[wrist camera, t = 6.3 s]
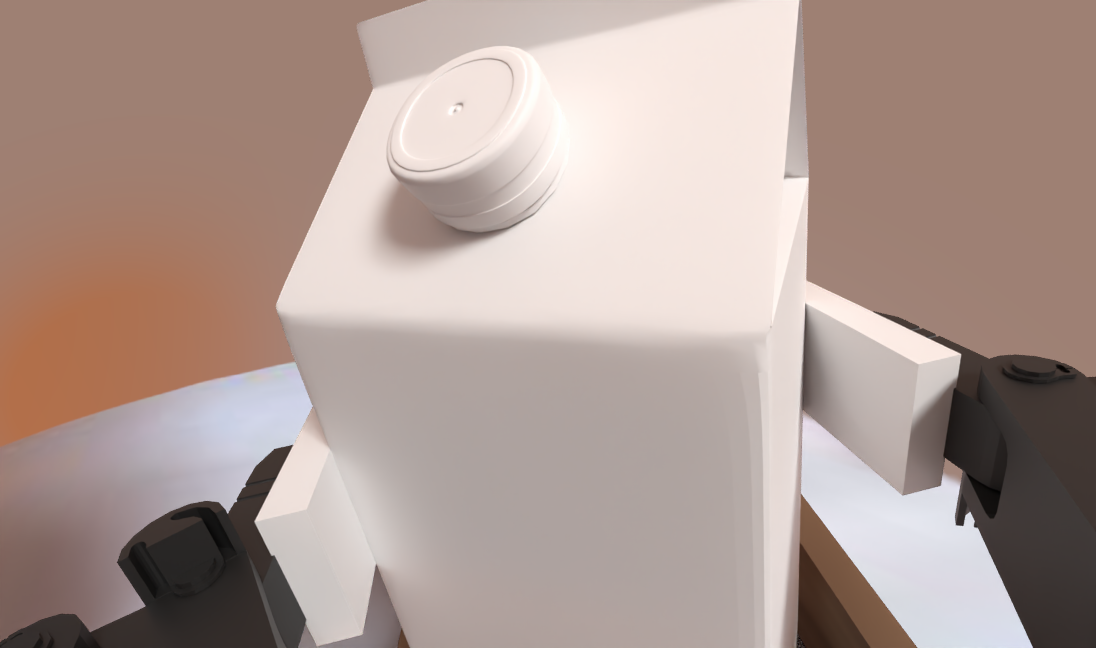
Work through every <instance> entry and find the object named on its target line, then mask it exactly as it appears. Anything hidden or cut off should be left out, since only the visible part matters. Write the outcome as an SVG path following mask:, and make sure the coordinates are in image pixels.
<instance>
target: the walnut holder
mask: <svg viewBox="0 0 1096 648" xmlns="http://www.w3.org/2000/svg"><path fill="white" fill-rule="evenodd" d="M797 633H798V635H799V636H800V638H801V640H802V642H803V644H804V646H805V647H806V648H917V647H916V645H915V644H914V643H913V641H912V640H911V639H910V637H909V636H908V635H907V633H906V632H905V631H904V629H903V628H902V627H901V625H900V624H899V623H898V621H897V620H896V619H895V617H894V616H893V615H892V613H891V612H890V611H889V610H888V608H887V607H886V606H885V604H884V603H883V602H882V600H881V599H880V598H879V596H878V595H877V594H876V592H875V591H874V590H873V588H872V587H871V586H870V584H869V583H868V582H867V580H866V579H865V578H864V576H863V575H862V574H861V572H860V571H859V570H858V568H857V567H856V566H855V564H854V563H853V562H852V561H851V559H850V558H849V557H848V555H847V554H846V553H845V551H844V550H843V549H842V547H841V546H840V545H839V543H838V542H837V541H836V539H835V538H834V537H833V535H832V534H831V533H830V531H829V530H828V529H827V527H826V526H825V525H824V523H823V522H822V521H821V519H820V518H819V517H818V515H817V514H816V513H815V512H814V510H813V509H812V508H811V506H810V505H809V504H808V502H807V501H806V500H805V498H804V497H803V496H802V494H801V506H800V547H799V588H798V630H797ZM397 648H410V647H409V644H408V642H407V639H406V637H405V634H404V632H403V630H402V628H401V633H400V638H399V642H398V647H397Z"/></svg>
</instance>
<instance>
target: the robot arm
mask: <svg viewBox="0 0 1096 648" xmlns="http://www.w3.org/2000/svg"><path fill="white" fill-rule="evenodd" d="M803 410H804V411H805V412H806V413H807V414H808V415H810V416H811V417H812V418H813V419H814V420H815V421H817V422H818V423H819V424H820V425H821V426H822V427H823V428H825V429H826V430H827V431H828V432H829V433H830V434H832V435H833V436H834V437H835V438H836V439H837V440H839V441H840V442H841V443H842V444H843V445H844V446H846V447H847V448H848V449H849V450H850V451H851V452H853V453H854V454H855V455H856V456H857V457H858V458H860V459H861V460H862V461H863V462H864V463H865V464H867V465H868V466H869V467H870V468H871V469H872V470H874V471H875V472H876V473H877V474H878V475H879V476H881V477H882V478H883V479H884V480H885V481H886V482H888V483H889V484H890V485H891V486H892V487H893V488H895V489H896V490H897V491H898V492H899V493H900V494H901V495H907V494H910V493H914V492H918V491H922V490H926V489H930V488H934V487H938V486H941V481H942V474H943V467H944V462H945V458H946V459H948V460H949V461H951V462H952V463H953V464H955V465H956V466H957V467H959V468H960V469H962V470H963V473H962V479H961V485H960V491H959V496H958V502H957V508H956V513H955V521H956V525H959V526H963V525H964V520H965V515H966V514H968V513H969V512H971V514H972V516H973V518H974V520H975V522H974V527H976V528H978V529H979V531H980V533H981V536H982V538H983V540H984V542H985V544H986V546H987V549H988V551H989V553H990V555H991V557H992V559H993V562H994V564H995V566H996V568H997V570H998V573H999V575H1000V577H1001V579H1002V581H1003V583H1004V586H1005V588H1006V590H1007V592H1008V594H1009V596H1010V599H1011V601H1012V603H1013V605H1014V607H1015V609H1016V612H1017V614H1018V616H1019V618H1020V620H1021V623H1022V625H1023V627H1024V629H1025V631H1026V633H1027V636H1028V638H1029V640H1030V642H1031V644H1032V646H1033V648H1096V377H1086V376H1085V375H1084V374H1082V373H1081V372H1079V371H1078V370H1076V369H1075V368H1073V367H1071V366H1069V365H1067V364H1064V363H1061V362H1058V361H1055V360H1050V359H1045V358H1041V357H1036V356H1025V355H1004V356H997V357H994V358H990V359H988V358H986V357H984V356H982V355H980V354H978V353H975V352H973V351H971V350H969V349H966V348H964V347H962V346H960V345H958V344H956V343H953V342H951V341H949V340H947V339H945V338H943V337H940V336H938V337H936V335H935V334H934V333H932V332H930V331H927V330H925V329H920V328H919V326H917V325H915V324H912V323H910V322H908V321H906V320H903V319H901V318H899V317H895V316H891V315H887V314H882V313H878V312H872V311H869V310H867V309H865V308H863V307H861V306H859V305H857V304H855V303H853V302H850V301H848V300H846V299H844V298H842V297H840V296H838V295H836V294H834V293H832V292H829V291H827V290H825V289H823V288H821V287H819V286H817V285H815V284H813V283H811V282H809V281H806V299H805V341H804V382H803ZM245 485H246V487H244V488H243V489H242V491H241V492H240V494H239V496H238V498H237V502H235V503H234V504H233V506H232V508H231V510H230V511H229V513H228V514H227V512H226V510H225V509H224V508H223V507H222V506H221V504H220V503H219V502H211V501H203V502H198V503H193V504H189V505H186V506H183V507H181V508H178V509H176V510H173V511H171V512H169V513H167V514H165V515H164V516H162V517H160V518H158V519H156V520H155V521H153V522H151V523H150V524H149V525H147V526H146V527H145V528H143V529H142V530H141V531H140V532H138V533H137V534H136V535H135V536H133V538H132V539H131V540H130V541H129V542H128V543H127V545H126V546H125V547H124V548H123V549H122V551H121V553H120V556H119V559H118V561H117V563H118V565H119V566H120V568H121V569H122V571H123V572H124V574H125V575H126V577H127V578H128V580H129V581H130V583H131V584H132V586H133V587H134V589H135V590H136V592H137V593H138V595H139V596H140V598H141V599H142V601H143V602H144V604H145V605H146V607H144V608H142V609H140V610H138V611H136V612H133V613H131V614H129V615H127V616H125V617H123V618H120V619H118V620H116V621H114V622H112V623H109V624H107V625H105V626H103V627H101V628H99V629H96V630H94V631H92V632H89V631H88V629H87V628H86V626H85V625H84V624H83V622H82V621H81V620H80V619H79V618H78V617H77V616H76V615H75V614H59V615H56V616H52V617H49V618H45V619H42V620H40V621H38V622H36V623H34V624H32V625H30V626H27V627H25V628H23V629H20V630H18V631H17V632H15V633H13V634H12V635H10V636H8V637H9V638H7V639H4V640H2V641H1V642H0V648H298V646H299V643H300V639H301V636H302V633H303V630H304V626H305V624H306V626H307V628H308V630H309V632H310V634H311V635H312V637H313V639H314V641H315V643H316V645H317V646H321V645H325V644H329V643H333V642H337V641H341V640H344V639H348V638H352V637H356V636H360V635H363V630H364V625H365V620H366V614H367V609H368V604H369V598H370V593H371V588H372V582H373V577H374V572H375V566H376V562H375V560H374V557H373V555H372V552H371V550H370V547H369V545H368V542H367V540H366V537H365V535H364V532H363V530H362V527H361V525H360V522H359V520H358V517H357V515H356V512H355V510H354V507H353V505H352V502H351V500H350V497H349V495H348V492H347V490H346V487H345V485H344V482H343V480H342V477H341V475H340V472H339V470H338V467H337V465H336V462H335V460H334V457H333V455H332V452H331V450H330V448H329V445H328V443H327V440H326V438H325V435H324V433H323V430H322V428H321V425H320V423H319V420H318V418H317V415H316V413H315V410H314V408H313V407H312V409H311V411H310V413H309V415H308V417H307V419H306V421H305V423H304V425H303V427H302V429H301V431H300V433H299V435H298V437H297V439H296V441H295V443H294V445H290V446H286V447H281V448H277V449H274V450H273V451H272V452H271V453H270V454H269V455H268V456H266V457H265V458H264V459H263V460H262V461H261V462H260V463H259V464H258V465H257V466H256V467H255V468H254V470H253V472H252V474H251V475H250V477H249V479H248V480H247V482H246V484H245Z"/></svg>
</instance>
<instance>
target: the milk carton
mask: <svg viewBox="0 0 1096 648" xmlns="http://www.w3.org/2000/svg"><path fill="white" fill-rule="evenodd" d="M357 31H358V35H359V39H360V42H361V46H362V49H363V53H364V57H365V60H366V64H367V68H368V72H369V75H370V79H371V82H372V86H373V90H372V93H371V95H370V98H369V100H368V102H367V104H366V106H365V108H364V110H363V113H362V115H361V117H360V119H359V121H358V124H357V126H356V128H355V131H354V133H353V135H352V137H351V139H350V142H349V144H348V146H347V148H346V150H345V152H344V155H343V157H342V159H341V161H340V163H339V166H338V168H337V170H336V172H335V174H334V177H333V179H332V181H331V183H330V185H329V188H328V190H327V192H326V194H325V196H324V199H323V201H322V203H321V205H320V207H319V210H318V212H317V214H316V216H315V219H314V221H313V223H312V225H311V227H310V229H309V231H308V234H307V236H306V238H305V240H304V243H303V245H302V247H301V249H300V251H299V253H298V256H297V258H296V260H295V262H294V265H293V267H292V269H291V271H290V273H289V276H288V278H287V280H286V282H285V284H284V287H283V289H282V292H281V294H280V296H279V299H278V301H277V304H276V308H277V312H278V316H279V319H280V322H281V324H282V327H283V330H284V332H285V335H286V338H287V340H288V343H289V346H290V348H291V351H292V354H293V357H294V359H295V362H296V364H297V367H298V370H299V372H300V375H301V377H302V380H303V383H304V385H305V388H306V390H307V393H308V395H309V398H310V400H311V403H312V405H313V408H314V410H315V413H316V415H317V418H318V420H319V423H320V425H321V428H322V430H323V433H324V435H325V438H326V440H327V443H328V445H329V448H330V450H331V452H332V455H333V457H334V460H335V462H336V465H337V467H338V470H339V472H340V475H341V477H342V480H343V482H344V485H345V487H346V490H347V492H348V495H349V497H350V500H351V502H352V505H353V507H354V510H355V512H356V515H357V517H358V520H359V522H360V525H361V527H362V530H363V532H364V535H365V537H366V540H367V542H368V545H369V547H370V550H371V552H372V555H373V557H374V560H375V562H376V565H377V567H378V570H379V572H380V575H381V577H382V580H383V582H384V585H385V587H386V590H387V592H388V595H389V597H390V600H391V602H392V605H393V607H394V610H395V612H396V615H397V617H398V620H399V622H400V625H401V627H402V630H403V632H404V634H405V637H406V639H407V642H408V644H409V647H410V648H797V630H798V588H799V547H800V506H801V465H802V423H803V382H804V341H805V299H806V258H807V255H806V254H807V216H808V214H807V213H808V179H809V173H808V149H807V125H806V102H805V79H804V78H805V77H804V53H803V29H802V6H801V0H428V1H424V2H422V3H418V4H415V5H412V6H409V7H406V8H403V9H400V10H397V11H394V12H391V13H388V14H385V15H382V16H378V17H375V18H373V19H369V20H366V21H363V22H360V23H358V24H357Z"/></svg>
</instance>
